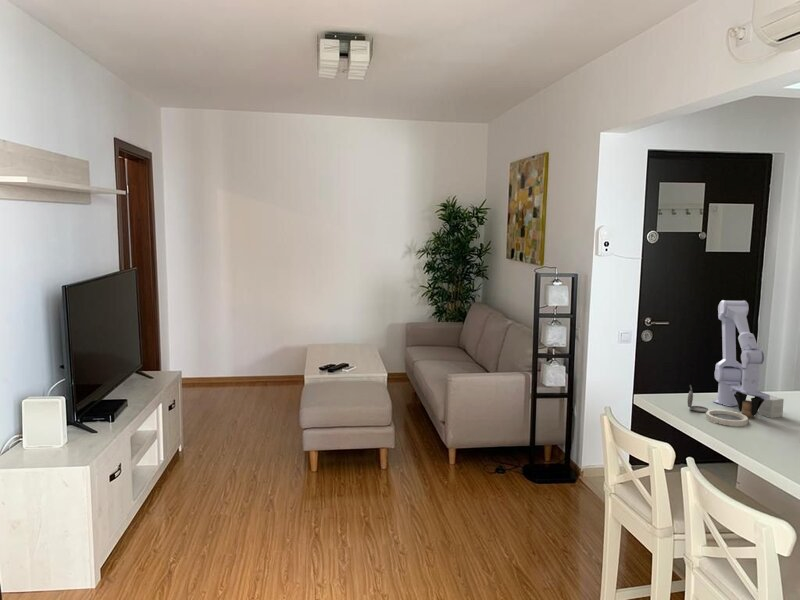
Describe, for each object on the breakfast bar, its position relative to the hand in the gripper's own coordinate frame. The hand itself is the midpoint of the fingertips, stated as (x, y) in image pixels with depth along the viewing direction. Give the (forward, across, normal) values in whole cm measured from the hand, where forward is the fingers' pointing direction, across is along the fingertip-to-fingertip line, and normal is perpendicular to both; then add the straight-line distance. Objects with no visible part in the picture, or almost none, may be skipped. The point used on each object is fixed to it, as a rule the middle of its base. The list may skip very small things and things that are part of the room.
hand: (747, 413), depth 232 cm
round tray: (+1, -1, -12) cm, 12 cm away
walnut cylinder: (+1, 0, 0) cm, 1 cm away
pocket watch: (+2, -15, -10) cm, 18 cm away
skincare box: (+2, +3, +10) cm, 11 cm away
